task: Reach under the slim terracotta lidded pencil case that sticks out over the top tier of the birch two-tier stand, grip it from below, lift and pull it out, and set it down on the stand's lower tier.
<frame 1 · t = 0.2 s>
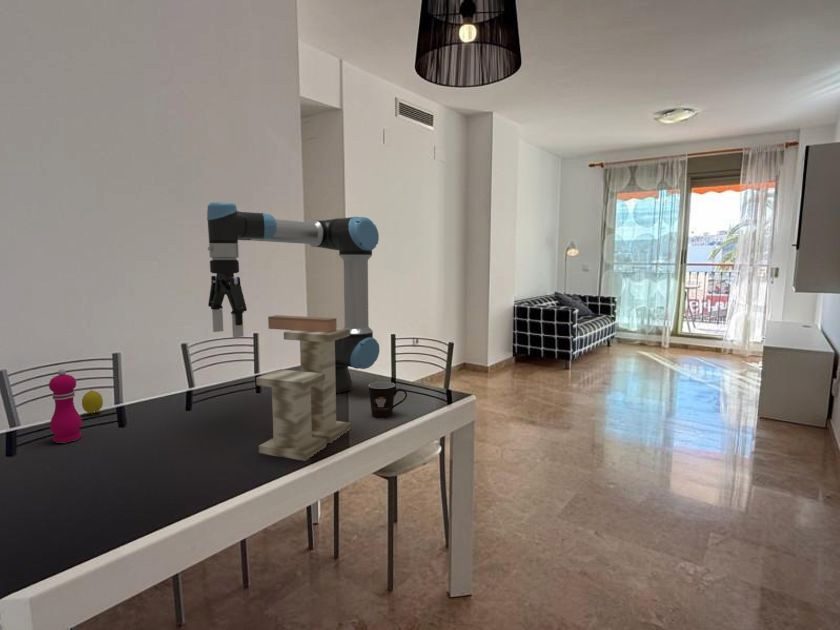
hand: (227, 334, 137), 29 cm above the table, tool pointing down, fingers open, 13 cm apart
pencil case: (302, 329, 138), point 30 cm above the table, touching two-tier stand
two-tier stand: (319, 433, 139), on the table
pepper mill: (67, 440, 134), on the table
coffee mug: (386, 416, 155), on the table
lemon: (93, 415, 155), on the table
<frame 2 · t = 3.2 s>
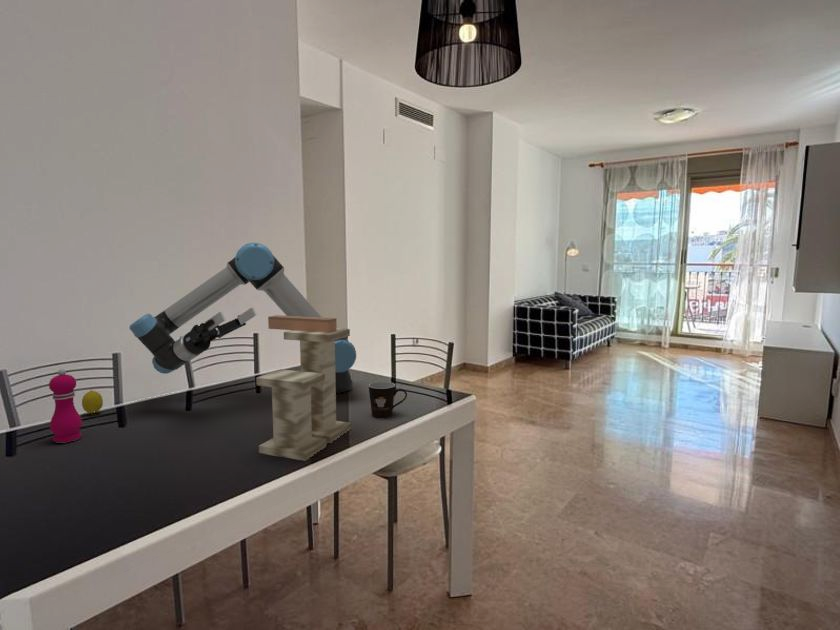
hand: (239, 313, 145), 34 cm above the table, tool pointing upward, fingers open, 13 cm apart
nothing on the table moved.
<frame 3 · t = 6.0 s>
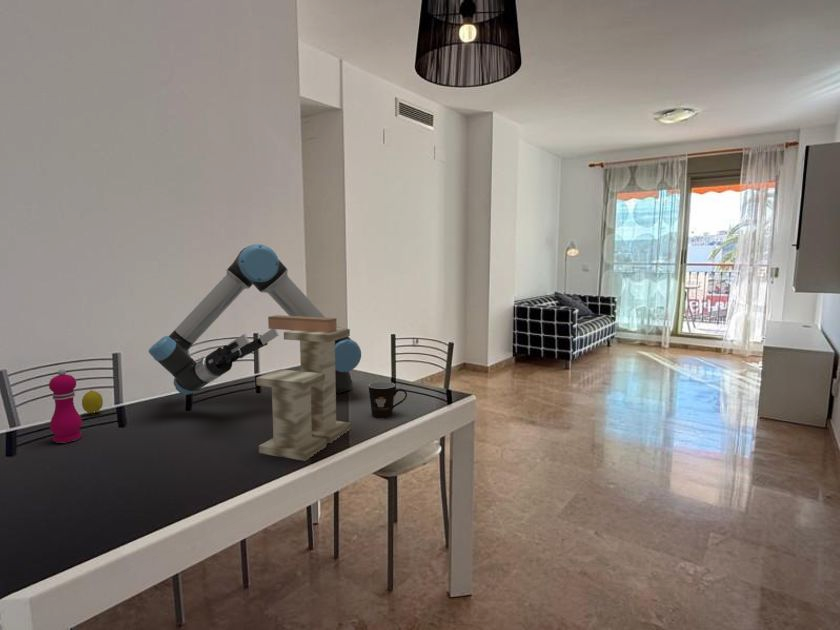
hand: (262, 334, 142), 28 cm above the table, tool pointing upward, fingers open, 13 cm apart
nothing on the table moved.
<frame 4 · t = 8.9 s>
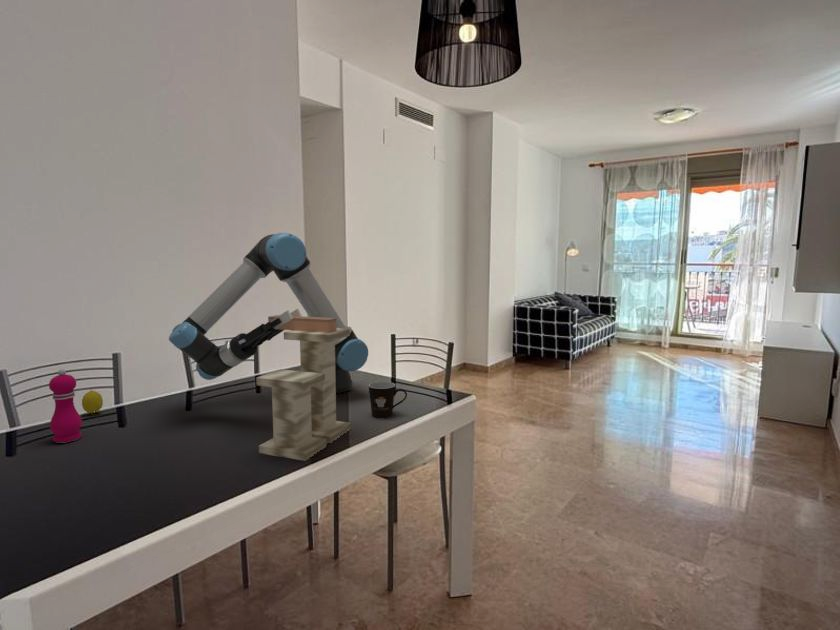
hand: (294, 313, 138), 34 cm above the table, tool pointing upward, fingers closed on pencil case, 4 cm apart
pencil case: (302, 329, 138), point 30 cm above the table, touching gripper, two-tier stand
everything else where it was.
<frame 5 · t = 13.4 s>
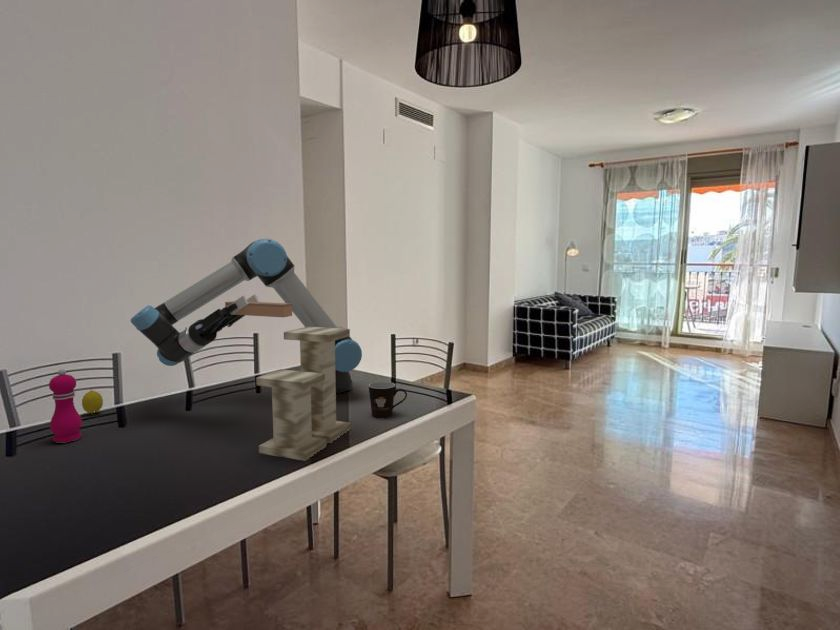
hand: (251, 299, 138), 38 cm above the table, tool pointing upward, fingers closed on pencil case, 4 cm apart
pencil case: (258, 315, 138), point 34 cm above the table, touching gripper
everything else where it was.
when the fingers open (26 cm above the table, at t = 18.4 s): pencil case drops 1 cm, resting on two-tier stand.
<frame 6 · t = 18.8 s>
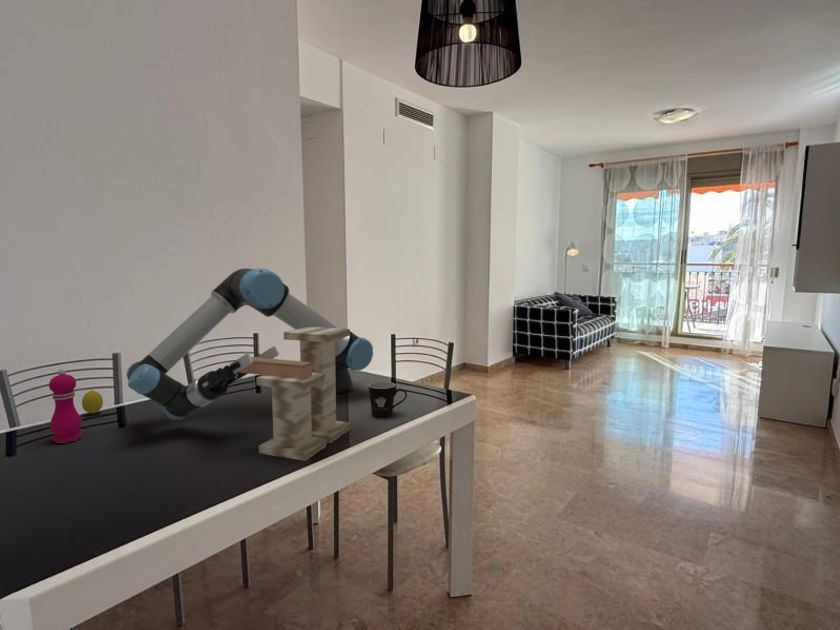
hand: (263, 353, 127), 25 cm above the table, tool pointing upward, fingers open, 10 cm apart
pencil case: (274, 373, 127), point 20 cm above the table, touching two-tier stand
everything else where it was.
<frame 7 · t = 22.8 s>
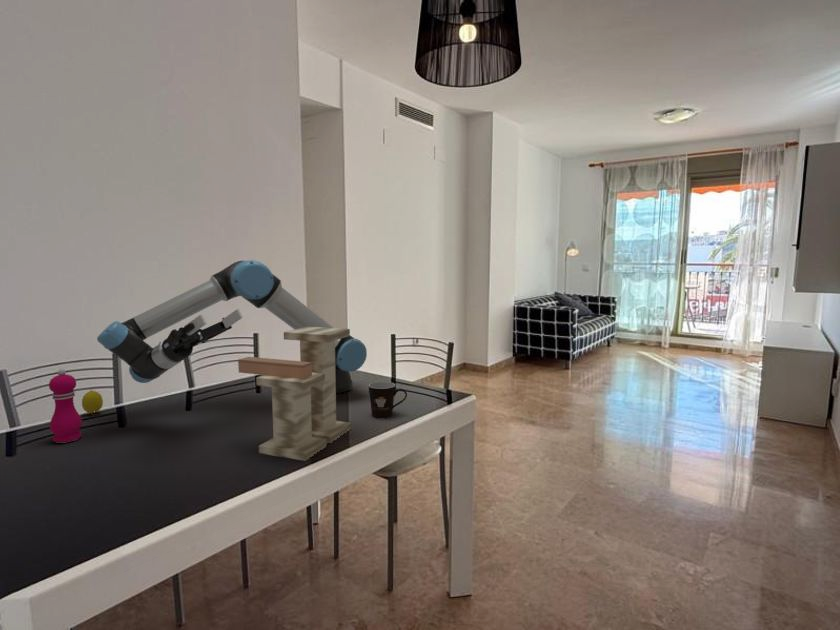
hand: (222, 316, 130), 35 cm above the table, tool pointing upward, fingers open, 13 cm apart
nothing on the table moved.
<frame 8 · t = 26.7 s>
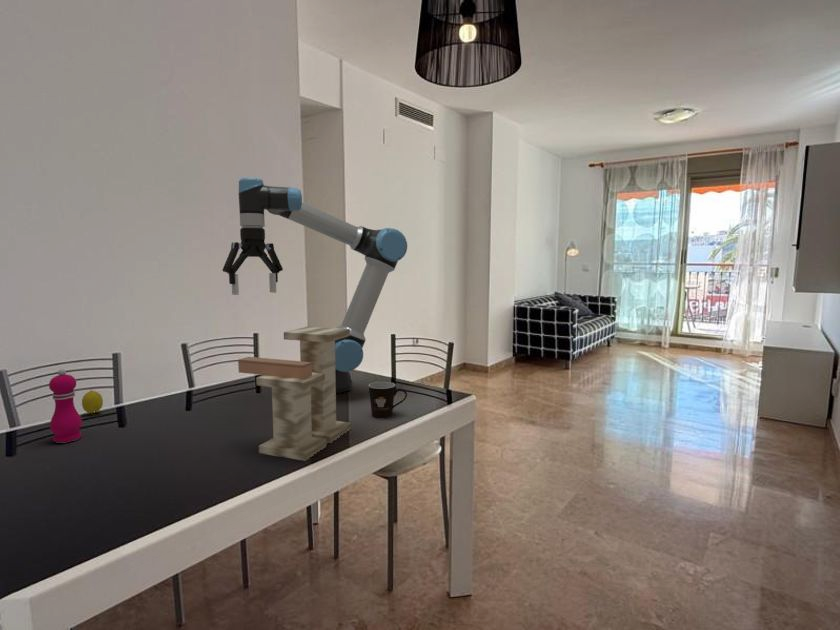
hand: (254, 293, 158), 39 cm above the table, tool pointing down, fingers open, 13 cm apart
nothing on the table moved.
at the end: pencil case inside the target area on the two-tier stand (0.2 cm from its centre), point 20.0 cm above the two-tier stand's base; the gripper is holding nothing; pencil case tilted 0° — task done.
